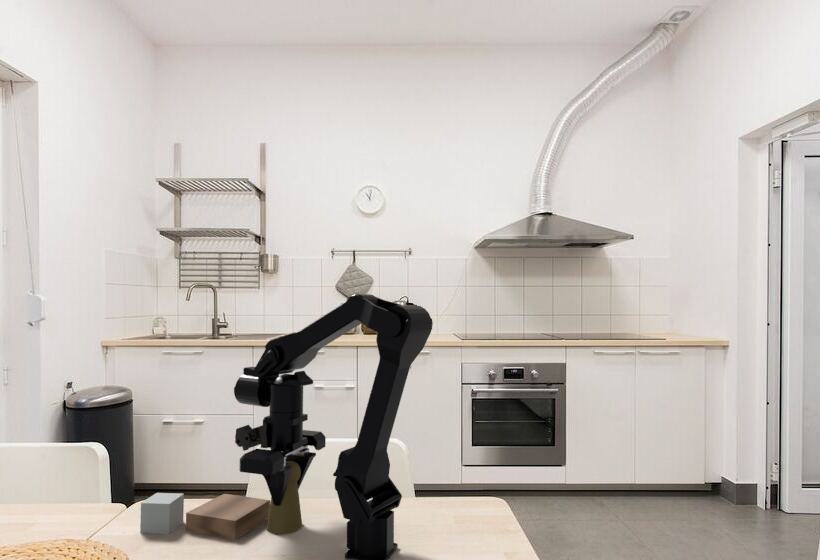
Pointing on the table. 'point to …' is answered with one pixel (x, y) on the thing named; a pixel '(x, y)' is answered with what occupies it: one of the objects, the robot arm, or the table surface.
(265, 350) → the robot arm
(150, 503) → the slate cube
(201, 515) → the walnut block
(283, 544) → the table surface
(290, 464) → the olive game pawn
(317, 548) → the table surface
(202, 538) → the table surface
